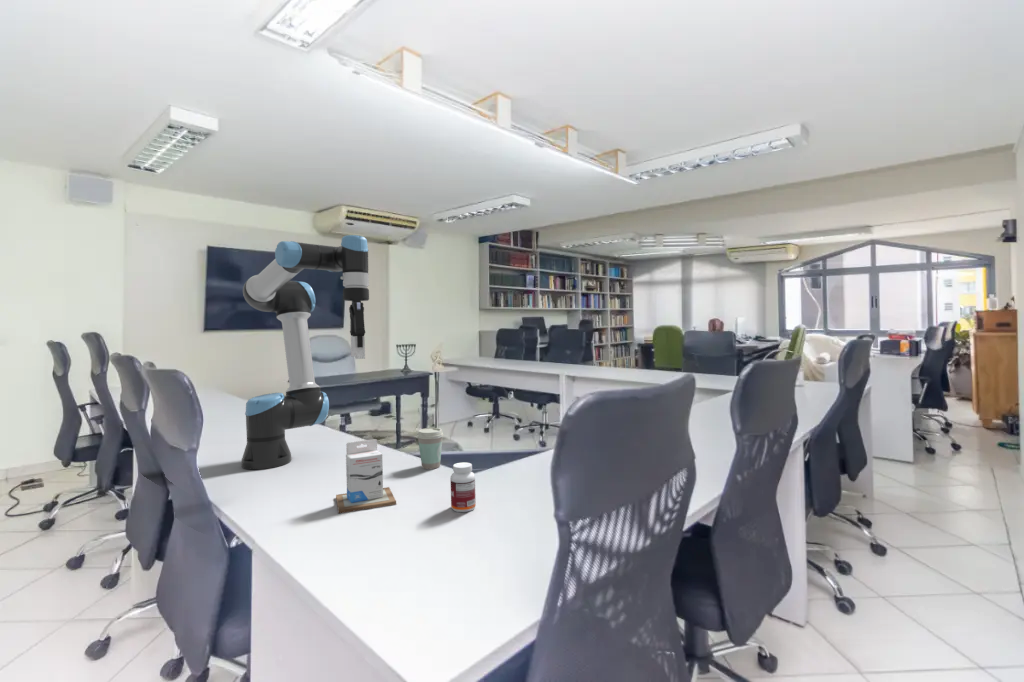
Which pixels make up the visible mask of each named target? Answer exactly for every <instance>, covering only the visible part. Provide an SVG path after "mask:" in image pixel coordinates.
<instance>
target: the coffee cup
mask: <svg viewBox="0 0 1024 682" xmlns="http://www.w3.org/2000/svg"><path fill="white" fill-rule="evenodd" d="M443 437H444V433H443V429H442V428H440V427H426V428H421V429H419V430H418V431H417V435H416V438H417V440H418V448H419V455H420V462H421V468H422V469H423V470H424V469H425V470H434V469H439V468H440V467H441V459H442V447H443V446H442V445H443Z"/></svg>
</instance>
